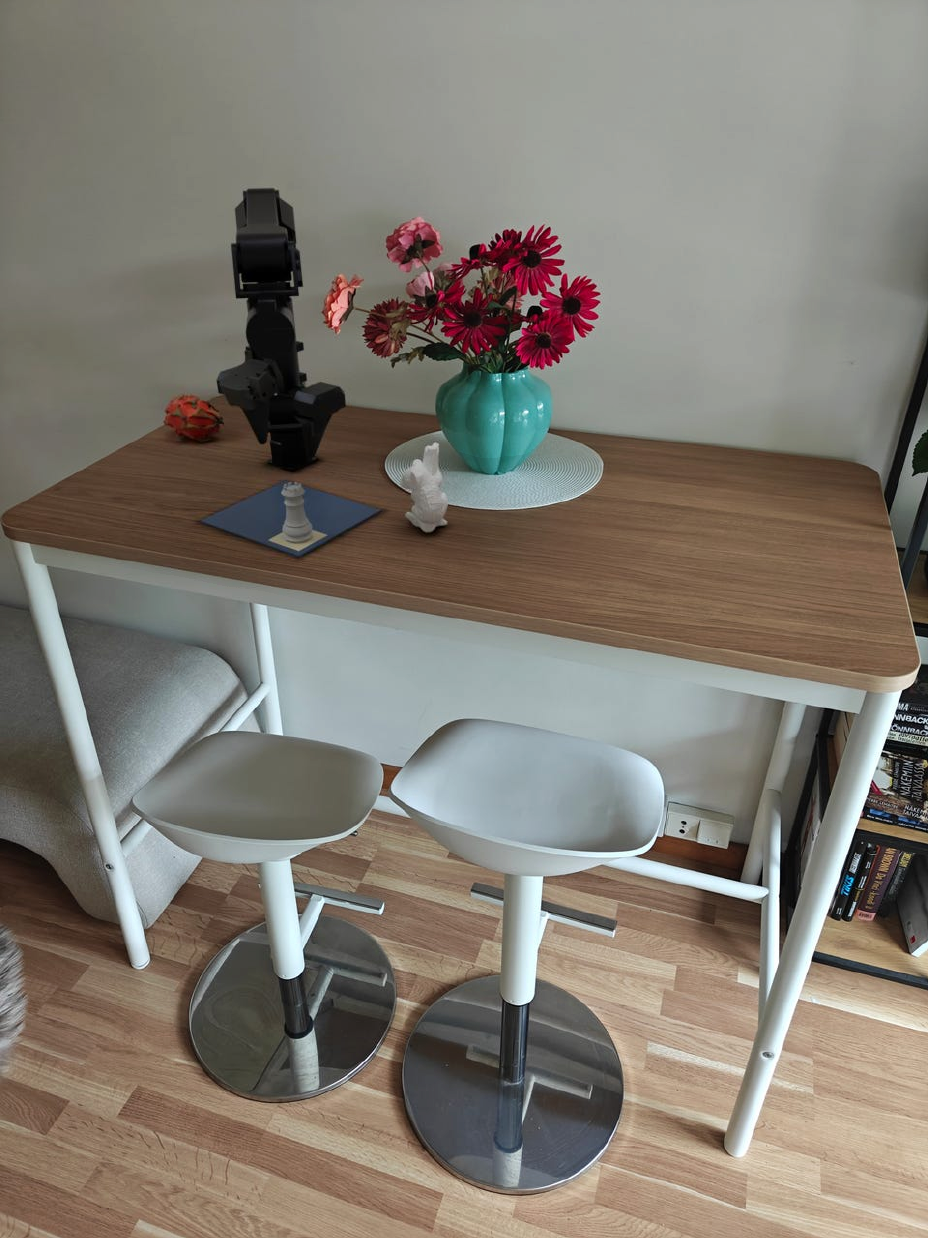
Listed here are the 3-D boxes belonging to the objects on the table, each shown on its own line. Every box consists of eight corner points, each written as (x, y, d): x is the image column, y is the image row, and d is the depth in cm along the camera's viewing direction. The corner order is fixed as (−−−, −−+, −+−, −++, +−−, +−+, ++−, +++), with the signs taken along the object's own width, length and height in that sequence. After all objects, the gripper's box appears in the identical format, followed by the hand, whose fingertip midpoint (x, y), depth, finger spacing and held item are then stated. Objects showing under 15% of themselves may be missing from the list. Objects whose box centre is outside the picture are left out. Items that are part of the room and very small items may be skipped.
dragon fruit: (171, 438, 166) (225, 456, 163) (145, 425, 157) (201, 444, 154) (186, 396, 166) (240, 413, 163) (160, 380, 157) (217, 398, 154)
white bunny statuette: (422, 510, 135) (420, 435, 129) (461, 519, 132) (461, 443, 126) (394, 533, 129) (390, 455, 122) (434, 542, 126) (433, 463, 120)
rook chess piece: (316, 541, 126) (310, 489, 121) (284, 545, 125) (278, 493, 120) (311, 528, 129) (306, 477, 125) (280, 532, 128) (274, 481, 124)
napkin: (285, 482, 144) (285, 480, 144) (381, 511, 135) (380, 509, 135) (201, 522, 132) (200, 520, 132) (299, 557, 122) (299, 555, 122)
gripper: (176, 339, 113) (196, 454, 122) (281, 364, 104) (295, 485, 113) (240, 321, 121) (255, 430, 129) (344, 342, 112) (352, 457, 120)
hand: (286, 450), depth 123 cm, fingers open, 9 cm apart
